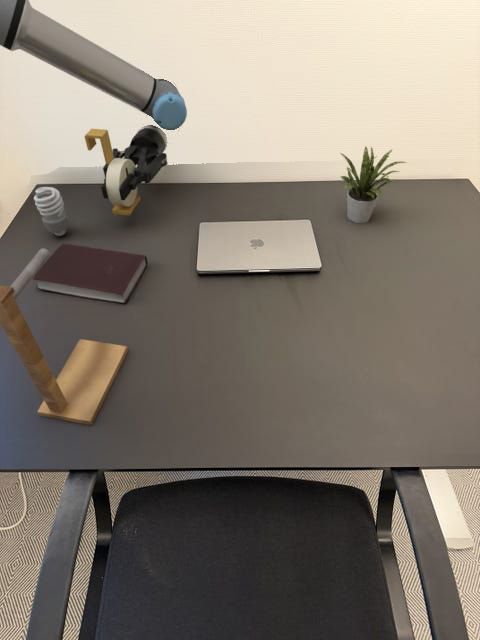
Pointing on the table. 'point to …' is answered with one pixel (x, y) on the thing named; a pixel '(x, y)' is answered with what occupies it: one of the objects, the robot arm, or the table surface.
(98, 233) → the table surface
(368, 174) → the house plant
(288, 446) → the table surface
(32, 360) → the stand
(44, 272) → the book
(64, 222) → the light bulb
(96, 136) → the clock
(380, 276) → the table surface
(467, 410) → the table surface
